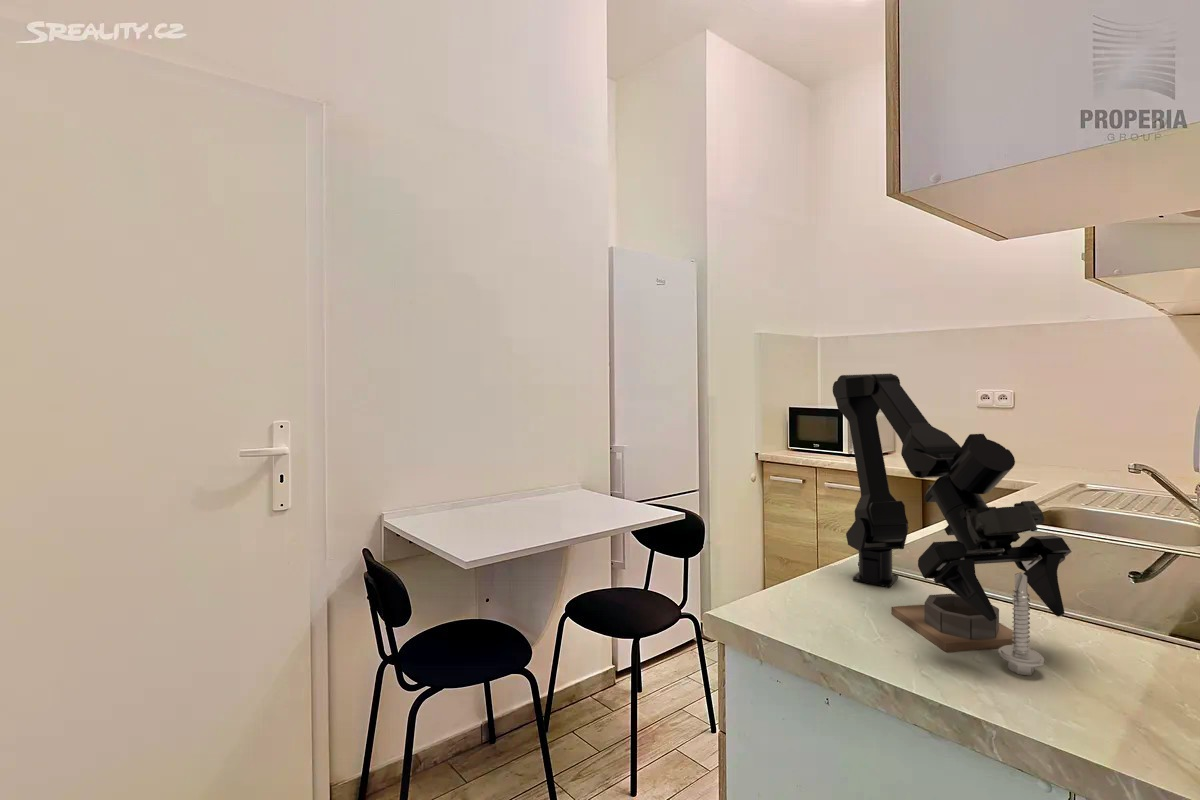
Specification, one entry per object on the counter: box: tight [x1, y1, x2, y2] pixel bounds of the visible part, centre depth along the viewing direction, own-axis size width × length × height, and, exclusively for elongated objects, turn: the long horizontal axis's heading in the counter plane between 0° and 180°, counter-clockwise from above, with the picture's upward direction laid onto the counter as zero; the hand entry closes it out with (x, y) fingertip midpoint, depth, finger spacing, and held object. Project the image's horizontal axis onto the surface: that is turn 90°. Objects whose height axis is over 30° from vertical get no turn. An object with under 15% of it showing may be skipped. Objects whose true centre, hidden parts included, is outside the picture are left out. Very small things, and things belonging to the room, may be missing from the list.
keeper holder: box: [890, 593, 1014, 653], centre depth 88 cm, size 13×12×4 cm
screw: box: [997, 571, 1045, 676], centre depth 75 cm, size 13×5×5 cm
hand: (1027, 617), depth 74 cm, fingers open, 9 cm apart
